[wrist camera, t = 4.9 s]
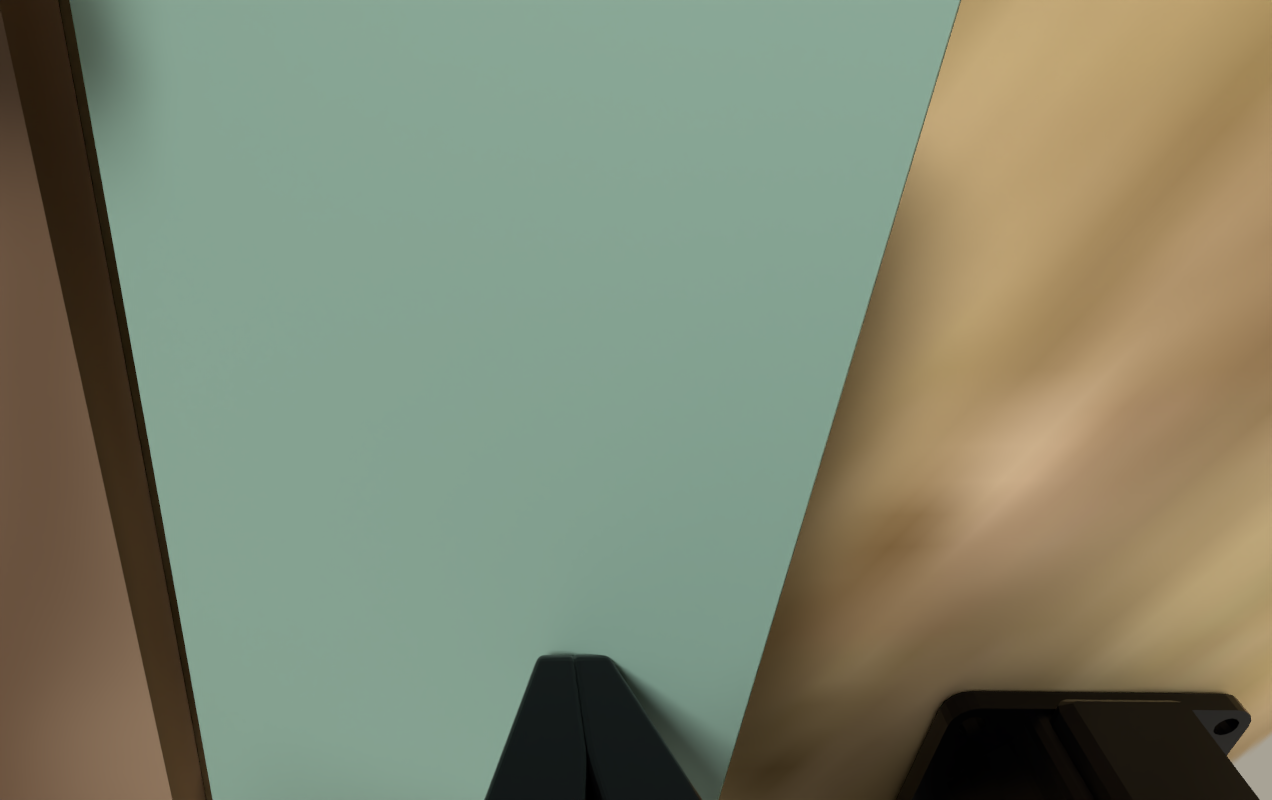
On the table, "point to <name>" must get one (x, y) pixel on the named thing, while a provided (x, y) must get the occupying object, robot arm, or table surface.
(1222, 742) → the robot arm
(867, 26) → the tailgate
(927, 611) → the table surface
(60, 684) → the truck bed
